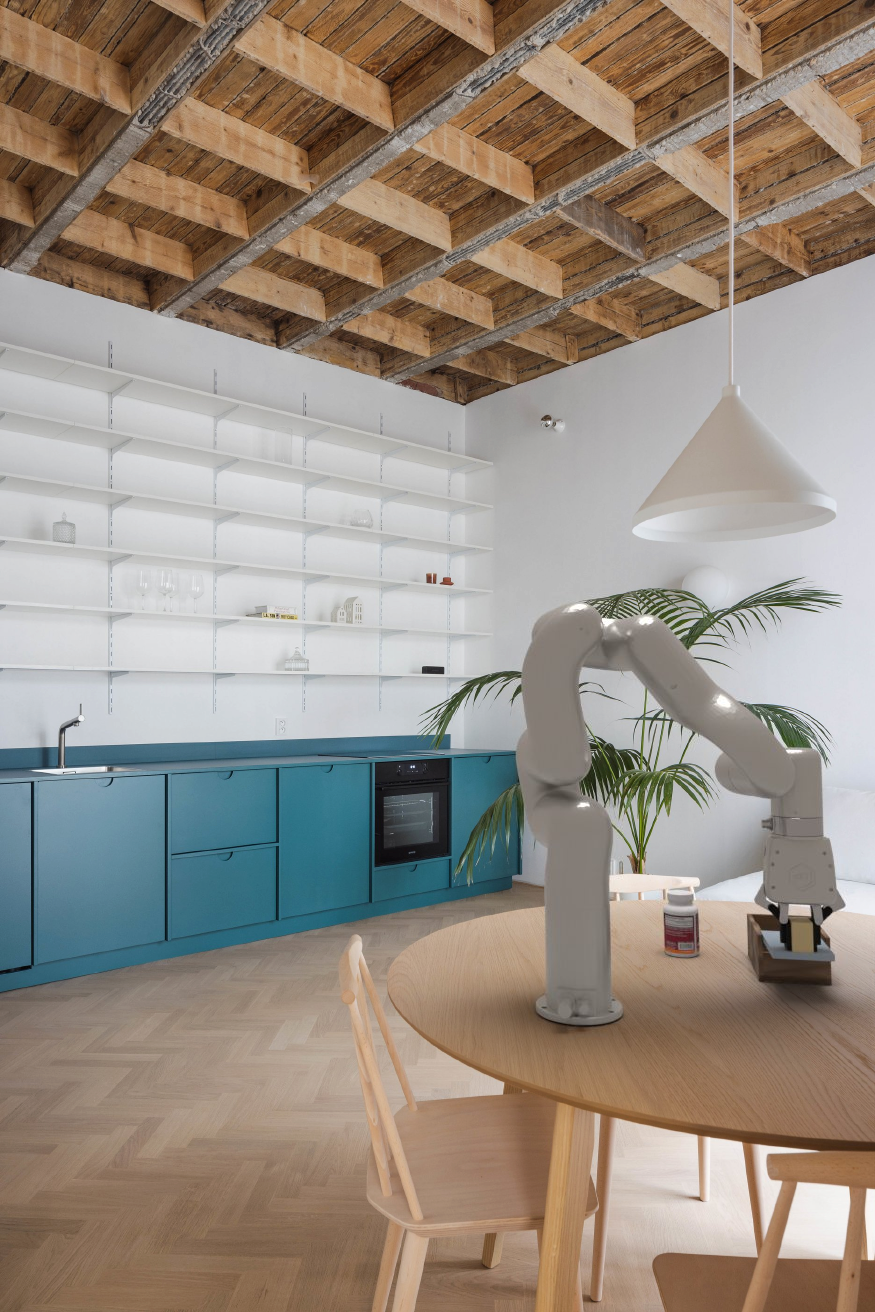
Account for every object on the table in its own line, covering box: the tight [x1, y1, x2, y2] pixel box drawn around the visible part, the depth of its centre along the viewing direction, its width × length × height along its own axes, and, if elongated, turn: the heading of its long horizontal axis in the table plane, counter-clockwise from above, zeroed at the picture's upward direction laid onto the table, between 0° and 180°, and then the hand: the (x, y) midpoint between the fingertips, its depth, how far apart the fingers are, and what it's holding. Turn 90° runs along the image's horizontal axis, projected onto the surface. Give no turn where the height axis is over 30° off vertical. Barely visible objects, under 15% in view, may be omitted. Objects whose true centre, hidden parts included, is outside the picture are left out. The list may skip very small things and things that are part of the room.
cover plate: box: [760, 917, 836, 962], centre depth 143 cm, size 14×9×5 cm, turn 168°
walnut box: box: [746, 913, 833, 986], centre depth 153 cm, size 16×11×7 cm
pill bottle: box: [662, 889, 701, 959], centre depth 164 cm, size 6×6×11 cm
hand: (800, 947), depth 138 cm, fingers closed on cover plate, 3 cm apart
